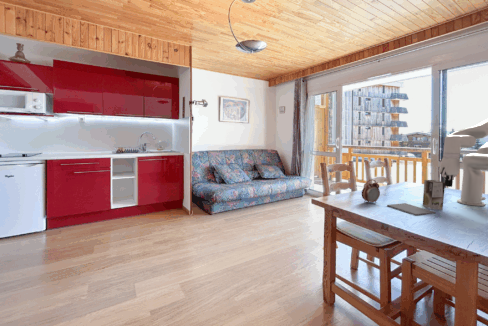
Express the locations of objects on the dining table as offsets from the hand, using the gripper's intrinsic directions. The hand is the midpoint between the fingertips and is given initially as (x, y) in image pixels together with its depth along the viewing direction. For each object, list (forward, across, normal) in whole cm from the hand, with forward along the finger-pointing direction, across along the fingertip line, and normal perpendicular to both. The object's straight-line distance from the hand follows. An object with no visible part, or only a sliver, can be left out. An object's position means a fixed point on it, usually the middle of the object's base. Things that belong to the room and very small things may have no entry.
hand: (448, 186), depth 140 cm
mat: (+13, +28, 0) cm, 31 cm away
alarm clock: (+13, +39, -18) cm, 45 cm away
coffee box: (+13, +11, 0) cm, 17 cm away
